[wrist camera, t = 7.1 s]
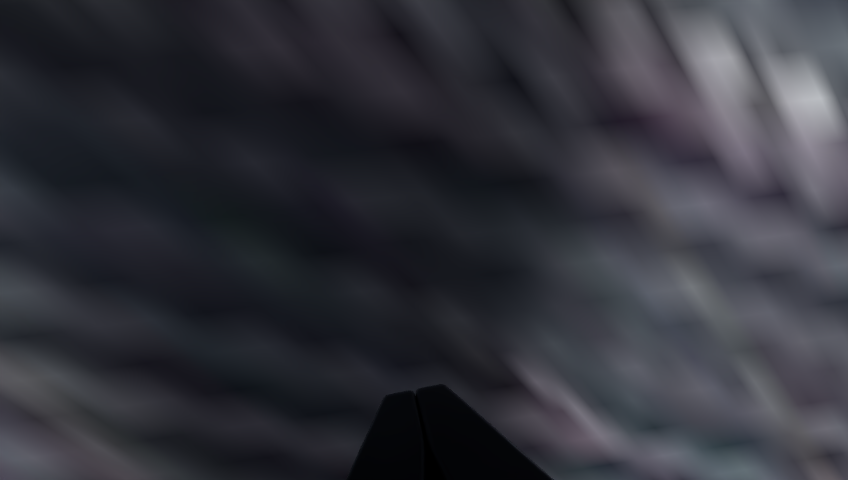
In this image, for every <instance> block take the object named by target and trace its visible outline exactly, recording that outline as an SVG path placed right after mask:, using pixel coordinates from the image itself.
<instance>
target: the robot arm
mask: <svg viewBox="0 0 848 480" xmlns="http://www.w3.org/2000/svg"><path fill="white" fill-rule="evenodd" d="M346 480H554V479H553V478H551V477H550V476H549V475H548V474H547V473H546V472H545V471H543V470H542V469H541V468H540V467H539V466H538V465H537V464H535V463H534V462H533V461H532V460H531V459H530V458H528V457H527V456H526V455H525V454H524V453H523V452H522V451H520V450H519V449H518V448H517V447H516V446H515V445H514V444H512V443H511V442H510V441H509V440H508V439H507V438H506V437H504V436H503V435H502V434H501V433H500V432H499V431H498V430H496V429H495V428H494V427H493V426H492V425H491V424H490V423H488V422H487V421H486V420H485V419H484V418H483V417H482V416H480V415H479V414H478V413H477V412H476V411H475V410H474V409H472V408H471V407H470V406H469V405H468V404H467V403H465V402H464V401H463V400H462V399H461V398H460V397H459V396H457V395H456V394H455V393H454V392H453V391H452V390H451V389H449V388H448V387H447V386H446V385H443V384H439V385H434V386H429V387H424V388H420V389H418V390H417V391H416V396H415V393H414V392H413V391H404V392H399V393H394V394H389V395H386V396H385V397H384V398H383V400H382V402H381V404H380V407H379V409H378V411H377V413H376V415H375V418H374V420H373V422H372V424H371V426H370V429H369V431H368V433H367V435H366V437H365V440H364V442H363V444H362V446H361V448H360V450H359V453H358V455H357V457H356V459H355V461H354V464H353V466H352V468H351V470H350V472H349V475H348V477H347V479H346Z"/></svg>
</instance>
